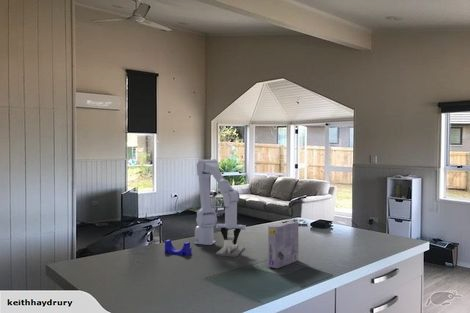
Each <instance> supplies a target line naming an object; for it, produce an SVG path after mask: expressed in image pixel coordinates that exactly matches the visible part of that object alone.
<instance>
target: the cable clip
mask: <svg viewBox="0 0 470 313" xmlns="http://www.w3.org/2000/svg"><path fill="white" fill-rule="evenodd" d="M192 248H193V247H191V242H189V241H186V242H184V243H183V246H182V249H177V248H176V247H174V246H173V243H172V239H166V240H164V254H169V255H177V256H184V257H188V256H190V255H192V250H193V249H192Z"/></svg>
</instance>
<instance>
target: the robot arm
mask: <svg viewBox="0 0 470 313" xmlns="http://www.w3.org/2000/svg"><path fill="white" fill-rule="evenodd" d="M219 167H220V164H219V162H218V161H217V159H216V158H215V159H199V160H198V161H197V163H196V174H197V176H198V183H199V186H198V187H199V196H200V197H199V198H200V208H199V209H198V210H197V211H196V219H195V221H196V224H197V226H196V227H195V229H194V243H193V244H195V245H206V246H211V245H213V244H215V243H217V241H216V240H214V227H215V229H220V233H221V235H222V237H223V241H224V240H225V239H226V238H227V237H228V234H229V232H228V231H229V230H233V236H234V245H236V243H237V242H238V238H239V235H240V234H241V231H245V230H246V229H247V226H246V225H244V224H237V223H238V219H237V218H238V217H237V216H238V211H237V210H238V202H239V201H240V198H241V197H240V193H239V191H238V190H235V189H234V188H233V187H232V185H231V184H230V182H229V180H227V179H225V178H224V176H223V174H222V173H221V171H220V168H219ZM210 176H212V177H213V178H214V179H215V181H216V182H217V188H218V189H219V191H220V193H221V195H222V202H223V205H224V223H217V222H218V217H217V214H216V210H215V209H214V208H212V203H211V202H212V201H211V188H210Z"/></svg>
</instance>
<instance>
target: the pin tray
mask: <svg viewBox="0 0 470 313" xmlns="http://www.w3.org/2000/svg"><path fill="white" fill-rule="evenodd" d="M245 249H246V248H245V246H243V245H239V241H237V247H236V248H235V249H234V250H233V251H230V248H228V251H226V248H225V247H224V246H223V247H222V248H220V249H219V250H218V251H216V252H215V256H222V257H231V258H232V257H234V258H235V257H238V256H239V255H240V254H241V252H243V251H244V250H245Z"/></svg>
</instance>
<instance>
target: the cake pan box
mask: <svg viewBox="0 0 470 313" xmlns="http://www.w3.org/2000/svg"><path fill="white" fill-rule="evenodd" d="M267 230H268V231H267V232H268V233H267V234H268V240H267V241H268V246H267V252H268V254H267V255H268V257H267V258H268V263H267V264H268V267H270V268H272V269H275V270H277V269H279V268H282V267H285V266H288V265H291V264H292V263H296V262H297V261H299V221H287V222H283V223H277V224H274V225H269V226H268V228H267Z"/></svg>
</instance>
